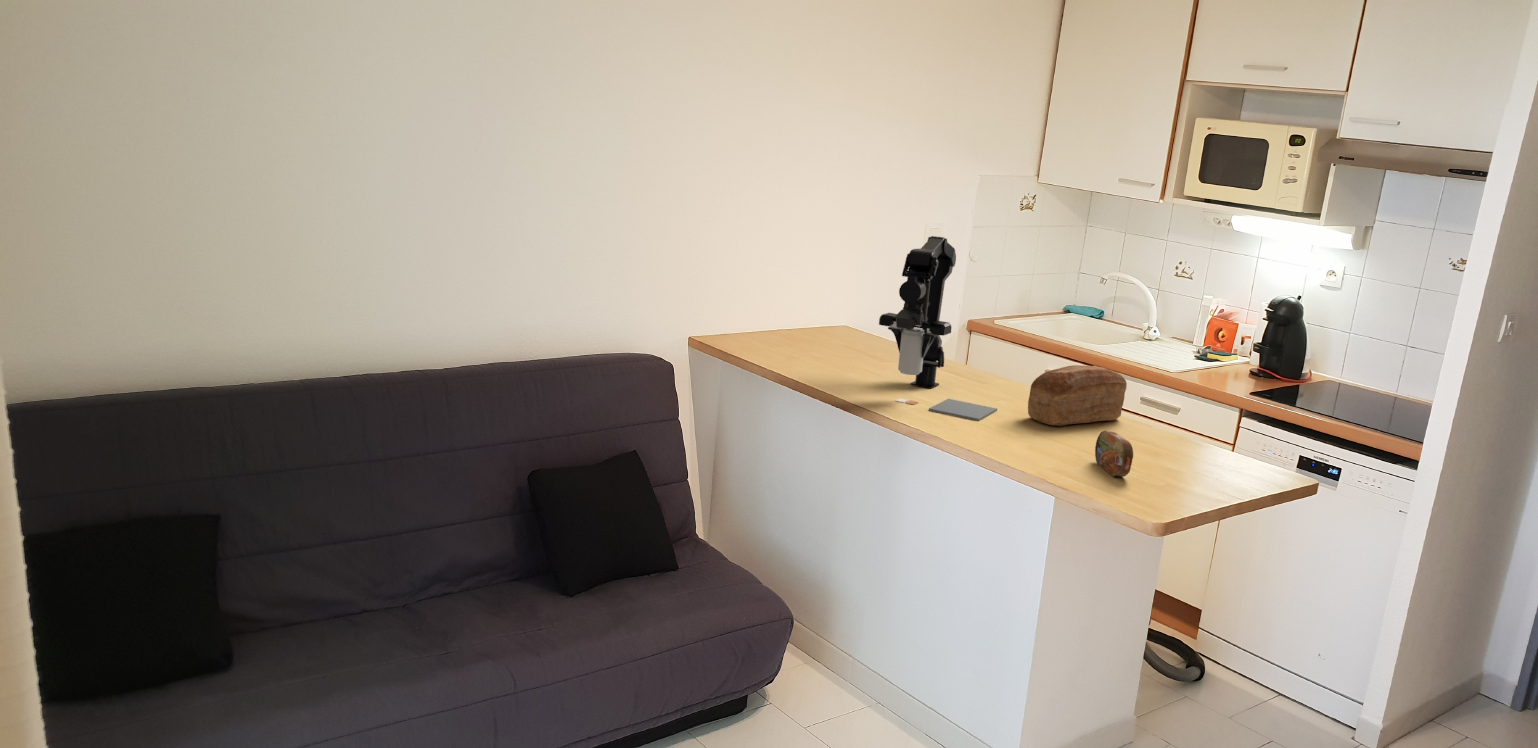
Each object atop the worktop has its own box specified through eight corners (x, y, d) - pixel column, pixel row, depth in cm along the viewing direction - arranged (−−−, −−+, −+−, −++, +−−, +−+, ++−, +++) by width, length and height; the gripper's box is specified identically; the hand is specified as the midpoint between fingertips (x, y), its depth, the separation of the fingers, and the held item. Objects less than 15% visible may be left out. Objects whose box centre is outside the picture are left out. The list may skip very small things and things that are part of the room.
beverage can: (920, 376, 283) (925, 332, 281) (896, 374, 285) (900, 330, 282) (922, 371, 289) (926, 328, 287) (898, 369, 291) (902, 325, 288)
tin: (1092, 460, 248) (1097, 425, 246) (1105, 460, 249) (1110, 426, 247) (1117, 481, 234) (1123, 445, 232) (1131, 482, 234) (1137, 445, 232)
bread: (1128, 422, 285) (1136, 370, 282) (1051, 430, 271) (1059, 375, 268) (1095, 410, 295) (1102, 359, 292) (1019, 417, 281) (1026, 365, 278)
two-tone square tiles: (899, 398, 292) (899, 398, 291) (918, 402, 289) (918, 402, 289) (894, 401, 289) (895, 400, 289) (914, 405, 286) (914, 404, 286)
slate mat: (948, 400, 293) (948, 398, 293) (997, 410, 287) (997, 408, 286) (928, 410, 282) (928, 408, 281) (979, 421, 275) (979, 418, 275)
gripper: (872, 296, 280) (867, 354, 284) (939, 306, 271) (932, 366, 275) (890, 291, 289) (884, 348, 293) (955, 301, 280) (948, 359, 284)
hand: (911, 355), depth 286 cm, fingers closed on beverage can, 6 cm apart
